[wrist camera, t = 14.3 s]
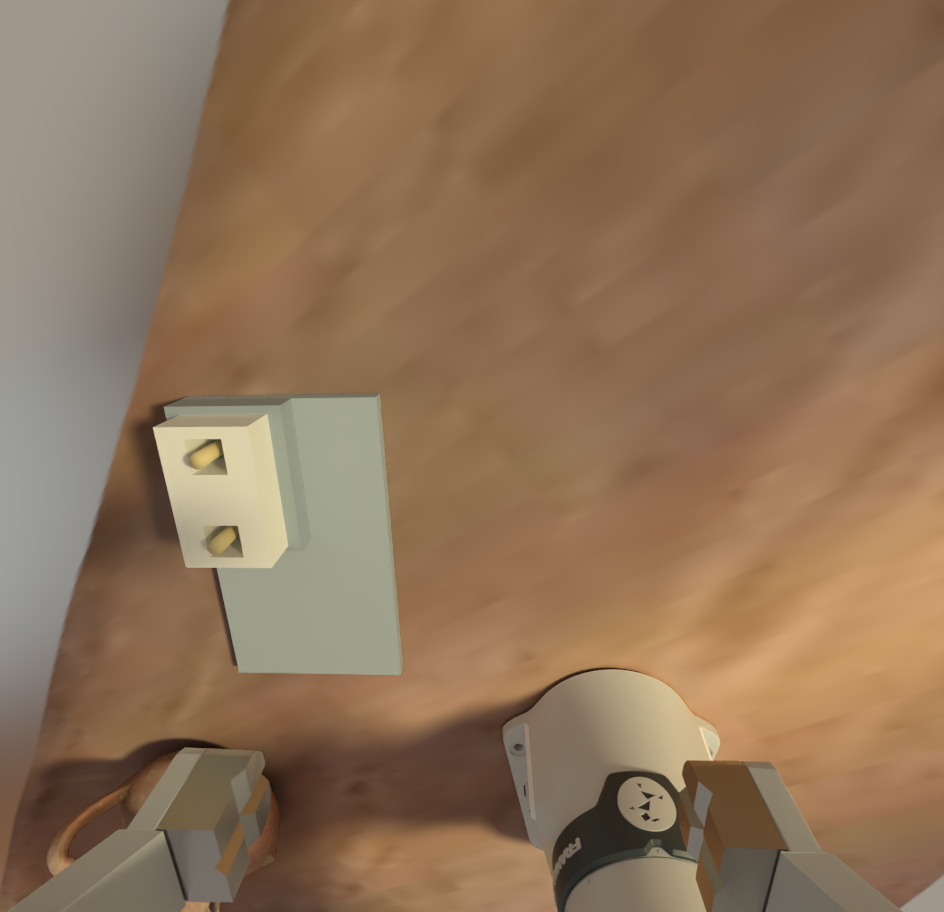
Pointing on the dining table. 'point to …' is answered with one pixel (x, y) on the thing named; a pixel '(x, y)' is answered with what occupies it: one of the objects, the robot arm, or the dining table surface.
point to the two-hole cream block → (224, 489)
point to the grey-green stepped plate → (315, 540)
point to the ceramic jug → (132, 799)
